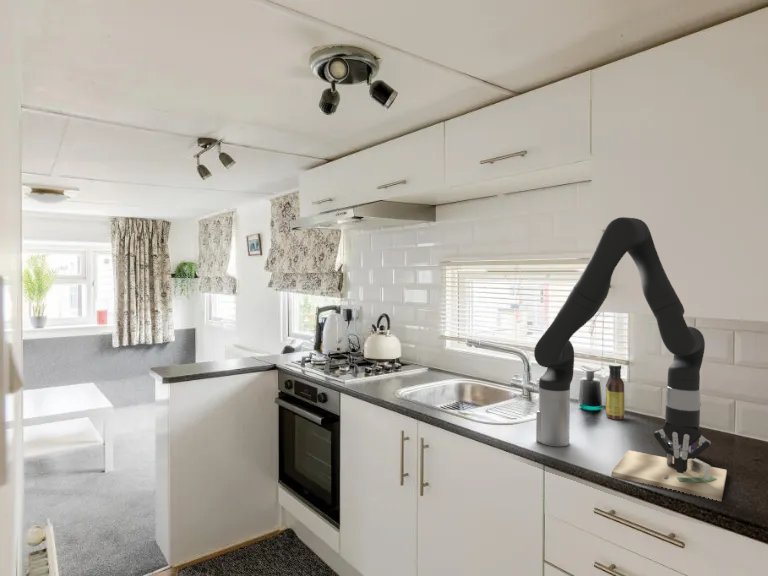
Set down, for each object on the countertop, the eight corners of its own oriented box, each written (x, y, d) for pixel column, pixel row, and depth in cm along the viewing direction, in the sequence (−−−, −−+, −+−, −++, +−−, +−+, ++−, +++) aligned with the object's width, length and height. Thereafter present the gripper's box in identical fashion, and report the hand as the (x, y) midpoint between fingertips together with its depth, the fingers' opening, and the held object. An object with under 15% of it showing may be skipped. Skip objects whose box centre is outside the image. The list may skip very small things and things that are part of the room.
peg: (660, 462, 137) (660, 440, 137) (673, 461, 138) (673, 440, 137) (699, 484, 123) (700, 460, 123) (714, 483, 124) (714, 459, 124)
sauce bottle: (612, 414, 188) (613, 362, 188) (628, 418, 183) (629, 364, 183) (601, 417, 185) (602, 363, 184) (617, 421, 180) (618, 366, 179)
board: (611, 476, 132) (611, 470, 131) (628, 454, 147) (628, 449, 147) (721, 501, 117) (721, 495, 117) (726, 474, 133) (726, 469, 133)
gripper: (650, 404, 128) (649, 470, 129) (712, 413, 120) (709, 484, 121) (656, 398, 134) (654, 461, 135) (714, 406, 126) (712, 474, 127)
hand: (680, 472), depth 128 cm, fingers closed
